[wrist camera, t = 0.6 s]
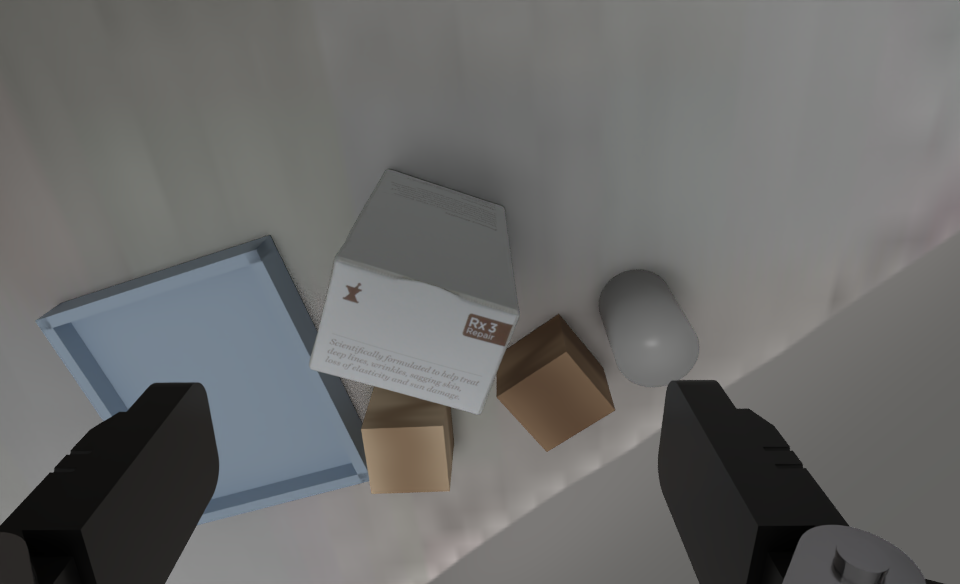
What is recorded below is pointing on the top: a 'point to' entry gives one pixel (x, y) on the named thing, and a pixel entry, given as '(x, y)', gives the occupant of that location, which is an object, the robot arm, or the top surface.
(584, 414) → the walnut block
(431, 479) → the beech block
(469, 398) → the skincare box
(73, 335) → the tray
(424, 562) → the top surface
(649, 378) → the grey capsule
